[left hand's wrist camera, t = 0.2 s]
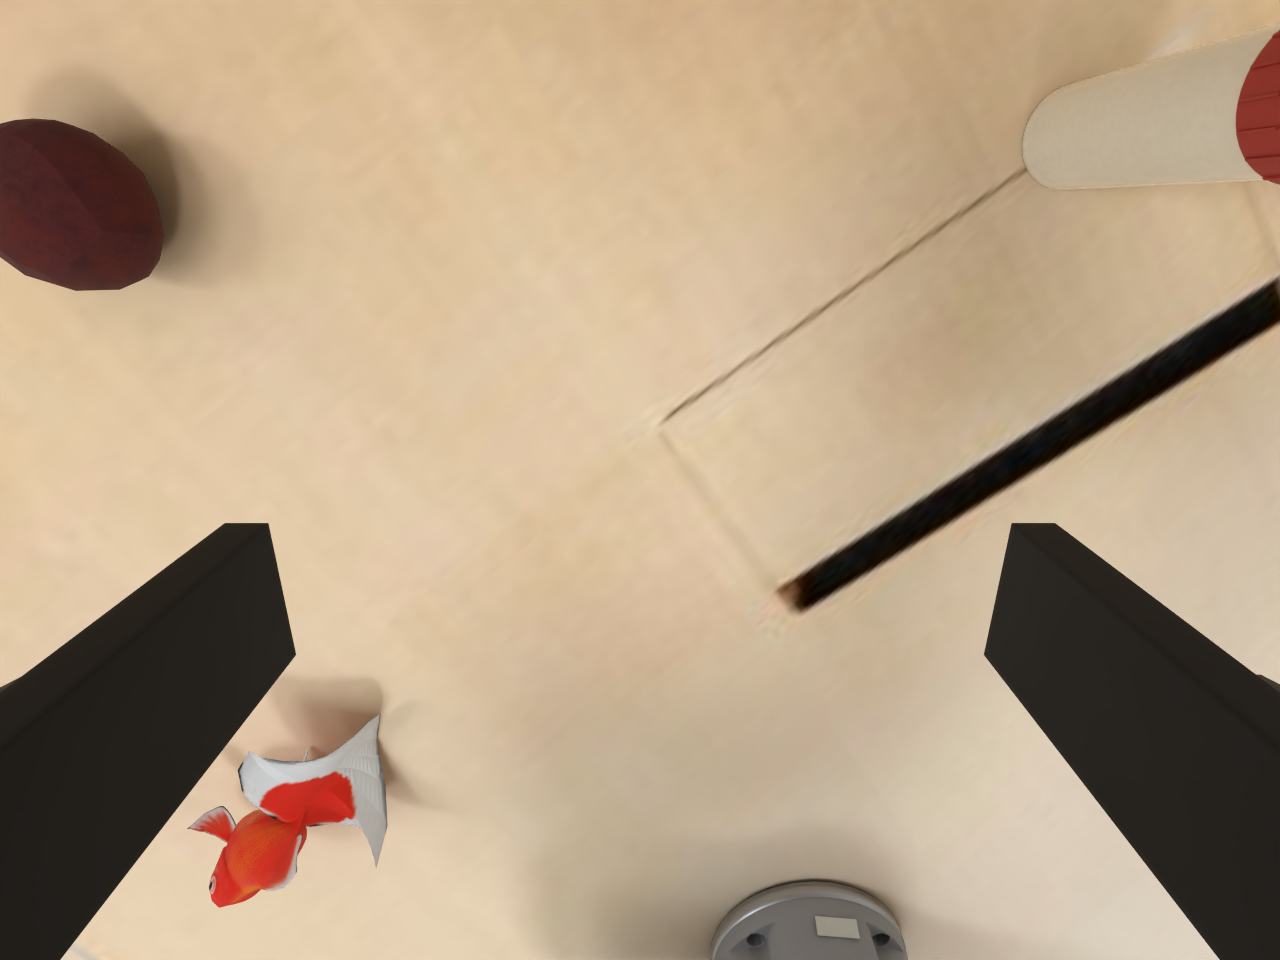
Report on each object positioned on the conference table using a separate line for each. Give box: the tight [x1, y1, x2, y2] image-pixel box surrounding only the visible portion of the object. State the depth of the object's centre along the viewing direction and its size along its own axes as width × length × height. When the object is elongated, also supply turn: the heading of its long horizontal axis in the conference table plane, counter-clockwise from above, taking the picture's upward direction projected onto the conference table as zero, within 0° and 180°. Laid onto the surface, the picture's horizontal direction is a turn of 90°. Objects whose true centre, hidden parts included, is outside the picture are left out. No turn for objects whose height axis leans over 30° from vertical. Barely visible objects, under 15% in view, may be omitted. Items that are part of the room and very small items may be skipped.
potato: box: [0, 119, 164, 291], centre depth 33 cm, size 7×8×7 cm
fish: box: [188, 714, 387, 908], centre depth 46 cm, size 11×16×10 cm
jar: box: [1022, 22, 1280, 190], centre depth 28 cm, size 5×5×16 cm
